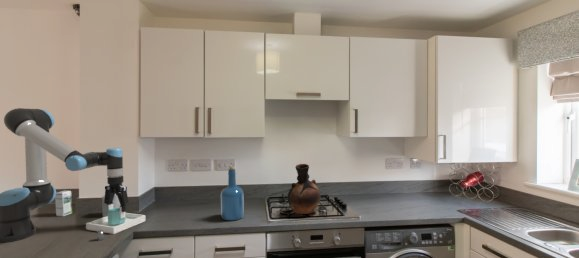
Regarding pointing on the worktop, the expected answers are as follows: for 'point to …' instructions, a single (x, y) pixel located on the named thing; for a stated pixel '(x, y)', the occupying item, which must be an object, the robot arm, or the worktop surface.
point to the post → (100, 235)
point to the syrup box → (63, 203)
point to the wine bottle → (232, 199)
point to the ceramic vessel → (303, 192)
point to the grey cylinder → (105, 207)
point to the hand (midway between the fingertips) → (116, 216)
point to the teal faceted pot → (115, 216)
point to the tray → (112, 229)
